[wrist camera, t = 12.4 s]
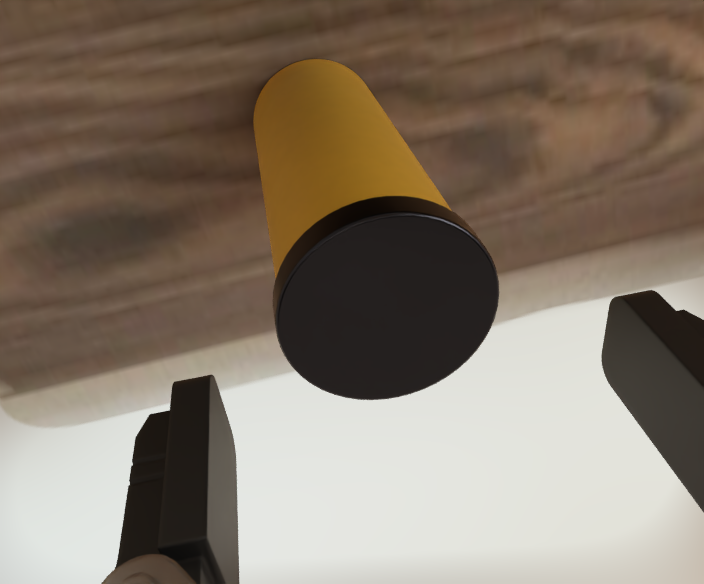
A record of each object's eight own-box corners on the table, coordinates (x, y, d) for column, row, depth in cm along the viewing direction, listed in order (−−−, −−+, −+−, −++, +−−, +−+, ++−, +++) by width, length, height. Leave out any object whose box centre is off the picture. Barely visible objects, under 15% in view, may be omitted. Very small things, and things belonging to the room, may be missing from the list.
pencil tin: (236, 66, 23) (254, 238, 12) (373, 44, 23) (503, 192, 13) (263, 192, 26) (295, 419, 15) (384, 171, 26) (497, 377, 16)
